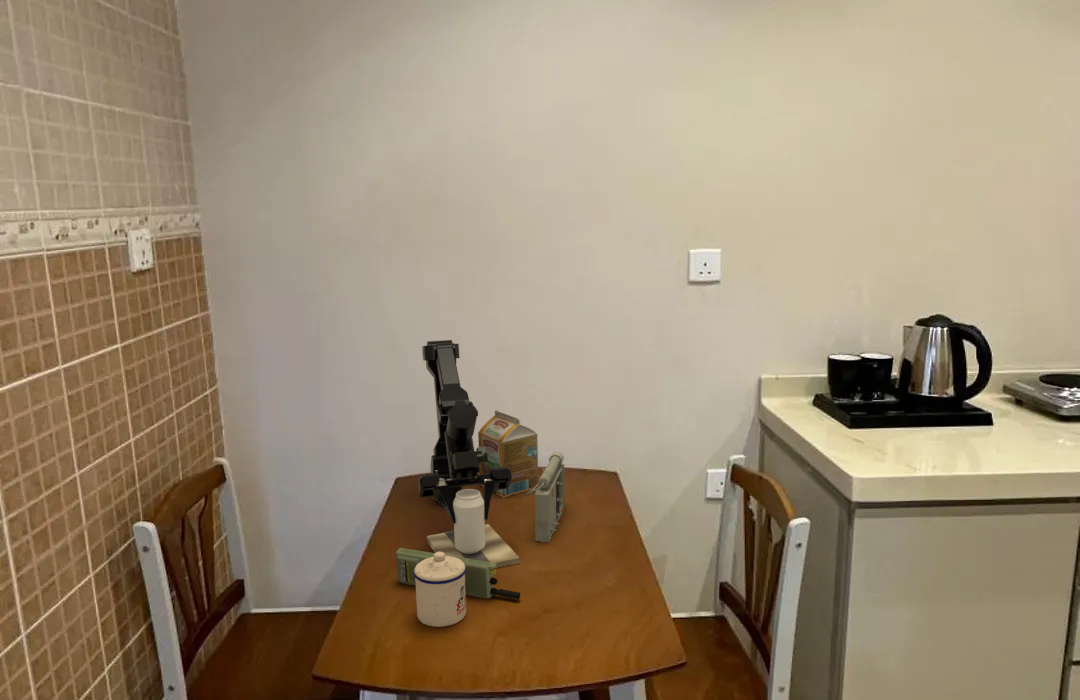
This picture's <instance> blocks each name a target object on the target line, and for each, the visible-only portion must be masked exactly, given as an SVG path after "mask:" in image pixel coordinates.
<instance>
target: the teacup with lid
mask: <svg viewBox="0 0 1080 700" xmlns="http://www.w3.org/2000/svg"><path fill="white" fill-rule="evenodd" d="M434 553H435V552H434ZM465 572H466V567H465V564H464V563H463V562H462V561H461V560H460V559H458V558H455V557H451V556H445V554H444V553H443V552H436V553H435V554H434V557H430V558H427V559H425V560H423V561H421V562H419V563H418V564H417V565H416V567H415V569H414V576H415V581H416V585H415V596H416V597H415V598H416V600H415V601H416V613H417V614H416V616H417V619H418V621H419V622H421V624H423V625H426V626H429V627H434V628H435V627H436V628H443V627H448V626H452V625H455V624H457V623H459V622H460V621H462V620H463V619H464V618H465V616H466V614H467V595H466V590H465Z"/></svg>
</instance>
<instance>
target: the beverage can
mask: <svg viewBox="0 0 1080 700" xmlns="http://www.w3.org/2000/svg"><path fill="white" fill-rule="evenodd" d="M452 505H453V509H454V513H455V521H456V522H455V524H453V530H454V538H455V548H456V549H457V550H459V551H461V552H463V553H467V554H471V553H476V552H478V551H480V550H481V549H483V548H484V546H485V525H486V522H485V521H486V520H485V515H484V500H483V495H481V491H479V490H478V489H475V488H464V489H462V490H460V491H458V492H457V493H456V497H455V499H454V501H453V504H452Z"/></svg>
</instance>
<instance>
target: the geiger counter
mask: <svg viewBox="0 0 1080 700" xmlns="http://www.w3.org/2000/svg"><path fill="white" fill-rule="evenodd" d="M564 459H565V456H564V454H563V452H561V451H557V450H556V451H553V452H552V454H551V455H550V457H549V459H548V463H547V465H546V467H544V468H542V474H541V475H540V477H539V478H538V484H537V485H536V486H535V487H534V488H533V489H532V490H529V491H527V493H526V494H525V496H526V497H528V496H530V495H531V494H532V493H533V492H535V493H534V514H535V515H534V522H535V523H534V529H535V530H534V533H535V535H534V537H535V538H534V539H535V542H538V541H540V543H550V541H551V539H552V537H553V535H552V534H554V532H557V531H558V530H557V529H556V528H555V527H557V526H558V525H561V524H560V523H559V521H560V519H559V518H561V516H562V515H563V514H564V513H563V512H561V511H562V508H563V506H566V505H565V502H566V501H565V499H566V498H565V488H566V487H565V463H563V462H564ZM537 487H538V488H537ZM561 513H562V514H561ZM560 515H561V516H560ZM558 520H559V521H558ZM551 536H552V537H551Z"/></svg>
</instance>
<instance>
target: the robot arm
mask: <svg viewBox="0 0 1080 700" xmlns="http://www.w3.org/2000/svg"><path fill="white" fill-rule="evenodd" d="M459 346H460V345H459V343H454V342H453V340H452V339H448V340H447V339H446V340H445V339H444V340H443V339H442V340H429V341H427V342H426V345H423V346H422V347H421V348H422V349H421V351H422V360H423V361H425V366H426V367H425V368H426V370H427V371H428V372H429V374H430V375H431V376H432V377H433V384H434V385H433V386H434V394H435V396H434V397H435V409H436V420H437V421H436V422H437V433H438V439H437V440H436V443H435V445H434V447H433V450H432V452H433V455H431V457H430V458H431V459H430V473H428V474H426V473H425V474H421V475H420V477H418V496H419V498H422V499H423V498H424V499H425V498H431V497H432V500H434V501H436V502H437V503H438V504H439V505H440V506H441V507H443V508H444V510H445V512H446V514H447V515H448V517H449V519H450V520H451V521H450V522H452V524H453V525H454V524H455V522H456V521H455V513H454V509H453V501H454V499H455V497H456V493H457V492H458V491H460V490H463V487H469V486H480V485H481V484H484V488H483V491H482V498H483V500H484V515H485V521H487V520H488V517H489V512H490V506H491V499H492V496H493V495H496V494H495V493H497V491H498V490H501V489H507V488H509V485H510V482H511V479H512V475H511V470H510V469H509V468H508V467H497V468H491V471H490V474H486V475H480V474H479V473H480V468H479V463H486V462H487V461H488V455H487V449H486V446H485V447H479V446H477V448H476V450H475V446H474V440H473V436H474V433H475V429H476V423H477V418H478V417H479V410H478V409H477V407H476V406H475V405H474V403H473V402H472V401H470V398H469V394H468V391H467V390H466V389H464V388H463V387H462V386H461V383H460V382H461V381H460V377H459V372H458V368H457V367H458V366H457V359H460V347H459Z"/></svg>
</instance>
